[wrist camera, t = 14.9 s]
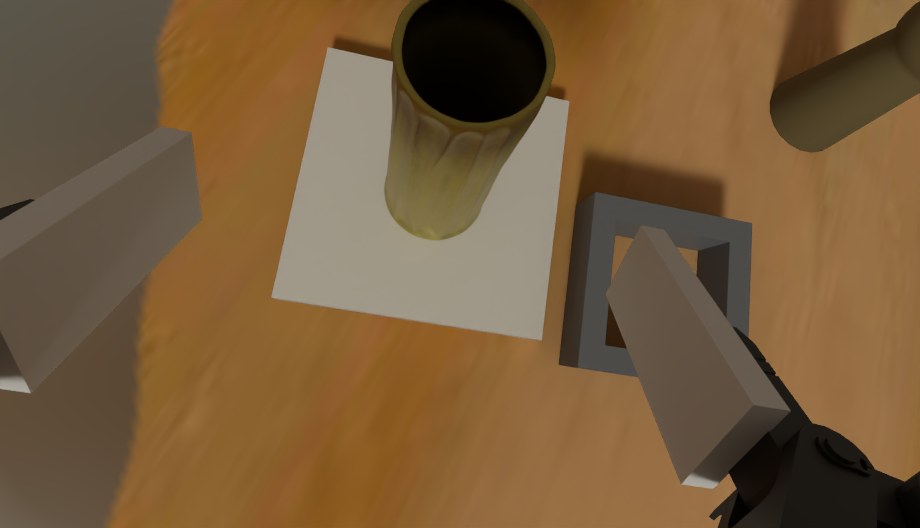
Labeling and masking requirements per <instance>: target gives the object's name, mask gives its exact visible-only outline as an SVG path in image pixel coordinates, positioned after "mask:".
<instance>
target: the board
mask: <svg viewBox="0 0 920 528" xmlns="http://www.w3.org/2000/svg"><path fill="white" fill-rule="evenodd" d="M392 70H393V62H392V61H387V60H383V59H378V58H374V57H369V56H365V55H361V54H356V53H352V52H347V51H343V50H338V49H334V48H329V47H328V49H327V54H326V58H325V63H324V67H323V71H322V76H321V80H320V85H319V89H318V94H317V98H316V102H315V107H314V111H313V116H312V120H311V125H310V129H309V133H308V138H307V142H306V147H305V151H304V156H303V160H302V164H301V169H300V173H299V178H298V182H297V187H296V191H295V195H294V200H293V204H292V209H291V213H290V218H289V222H288V226H287V231H286V235H285V240H284V244H283V249H282V253H281V257H280V262H279V266H278V271H277V275H276V280H275V284H274V288H273V293H272V297H271V298H274V299H278V300H284V301H290V302H297V303H303V304H309V305H316V306H322V307H328V308H335V309H341V310H347V311H354V312H360V313H366V314H373V315H379V316H386V317H392V318H398V319H405V320H411V321H417V322H424V323H430V324H436V325H443V326H449V327H455V328H462V329H468V330H474V331H481V332H487V333H493V334H500V335H506V336H513V337H519V338H525V339H532V340H542V334H543V325H544V316H545V308H546V299H547V290H548V282H549V273H550V264H551V256H552V247H553V238H554V230H555V221H556V212H557V204H558V195H559V186H560V178H561V169H562V160H563V152H564V143H565V134H566V125H567V117H568V108H569V101H566V100H561V99H557V98H553V97H548V96H546V98H545V100H544V102H543V104H542V106H541V109H540V111H539V113H538V115H537V116H536V118H535V119H534V121H533V122H532V124H531V125H530V127H529V129H528V130H527V132H526V133H525V135H524V136H523V137H522V139H521V140H520V142H519V143H518V145H517V146H516V148H515V149H514V151H513V152H512V154H511V155H510V157H509V158H508V160H507V161H506V163H505V164H504V165H503V167H502V168H501V170H500V172H499V174H498V176H497V178H496V180H495V182H494V184H493V186H492V188H491V190H490V192H489V194H488V196H487V198H486V200H485V202H484V203H483V205H482V208H481V211H480V213H479V216H478V218H477V219H476V220H475V222H474V223H473V224H472V225H471V226H470V227H469V228H468V229H467V230H466V231H464V232H463V233H461V234H459V235H457V236H454V237H451V238H448V239H444V240H427V239H423V238H419V237H417V236H414V235H412V234H410V233H408V232H407V231H406V230H404V229H403V228H402V227H401V226H399V224H398V223H397V222H396V221H395V220H394V219H393V217H392V216H391V214H390V212H389V210H388V208H387V205H386V201H385V195H384V184H385V180H386V176H387V168H388V156H389V148H390V136H391V122H392V90H391V80H392Z"/></svg>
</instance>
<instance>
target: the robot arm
mask: <svg viewBox="0 0 920 528" xmlns="http://www.w3.org/2000/svg"><path fill="white" fill-rule="evenodd" d="M201 220H202V215H201V206H200V198H199V190H198V182H197V174H196V166H195V158H194V149H193V141H192V133H191V132H186V131H182V130H177V129H172V128H167V127H160V128H158V129H157V130H155V131H153V132H152V133H150V134H148V135H146V136H145V137H143V138H141V139H140V140H138V141H136V142H135V143H133V144H131V145H129V146H128V147H126V148H124V149H123V150H121V151H119V152H117V153H115V154H114V155H112V156H110V157H109V158H107V159H105V160H104V161H102V162H100V163H98V164H96V165H95V166H93V167H92V168H90V169H88V170H86V171H84V172H83V173H81V174H79V175H78V176H76V177H74V178H72V179H71V180H69V181H67V182H65V183H64V184H62V185H60V186H59V187H57V188H55V189H54V190H52V191H50V192H48V193H47V194H45V195H43V196H41V197H40V198H38V199H36V200H32V199H30V200H26V201H23V202H19V203H16V204H13V205H10V206H6V207H3V208H0V389H6V390H13V391H20V392H27V393H32V391H34V390H35V389H36V387H37V386H38V385H39V384H40V383H41V382H42V381H43V380H44V379H45V378H46V377H47V376H48V375H49V374H50V373H51V372H52V371H53V370H54V369H55V368H56V367H57V366H58V365H59V364H60V363H61V362H62V361H63V360H64V359H65V358H66V357H67V356H68V355H69V354H70V353H71V352H72V351H73V350H74V349H75V348H76V347H77V346H78V344H80V343H81V341H83V340H84V339H85V338H86V337H87V336H88V335H89V334H90V333H91V332H92V331H93V330H94V329H95V328H96V326H97V325H98V324H99V323H100V322H101V321H102V320H103V319H104V318H105V317H106V316H107V315H108V314H109V313H110V312H111V311H112V310H113V309H114V308H115V307H116V306H117V305H118V304H119V303H120V302H121V301H122V300H123V299H124V298H125V297H126V296H127V295H128V294H129V293H130V292H131V291H132V290H133V289H134V288H135V287H136V286H137V285H138V284H139V283H140V282H141V281H142V280H143V279H144V278H145V277H146V276H147V275H148V274H149V273H150V272H151V271H152V270H153V269H154V268H155V266H156V265H157V264H158V263H159V262H160V261H161V260H162V259H163V258H164V257H165V256H166V255H167V254H168V253H169V252H170V251H171V250H172V249H173V248H174V247H175V246H176V245H177V244H178V243H179V242H180V241H181V240H182V239H183V238H184V237H185V236H186V235H187V234H188V233H189V232H190V231H191V230H192V229H193V228H194V227H195V226H196V225H197V224H198V223H199V222H200V221H201ZM606 297H607V299H608V302H609V304H610V307H611V309H612V312H613V314H614V317H615V319H616V322H617V324H618V327H619V329H620V332H621V334H622V337H623V340H624V342H625V345H626V347H627V350H628V352H629V355H630V357H631V360H632V362H633V365H634V367H635V370H636V372H637V375H638V377H639V380H640V382H641V385H642V387H643V390H644V392H645V395H646V397H647V400H648V402H649V405H650V407H651V410H652V412H653V415H654V417H655V420H656V422H657V425H658V427H659V430H660V433H661V435H662V438H663V440H664V443H665V445H666V448H667V450H668V453H669V455H670V458H671V460H672V463H673V465H674V468H675V470H676V473H677V475H678V478H679V480H680V483H681V484H683V485H690V486H697V487H704V488H711V489H714V488H715V487H716V486H717V485H718V484H719V483H720V482H721V481H722V480H723V479H724V478H725V477H726V476H727V475H728V474H730V476H731V478H732V480H733V482H734V484H735V486H736V488H737V489H736V490H735V491H734V492H733V493H732V494H731V495H730V496H729V497H728V498H727V499H726V500H725V501H723V502H722V503H721V504H720V505H719V506H718V507H717V508H716V509H715V510H714V511H713V512H712V513H711V515H710V516H709V517H710V518H711V519H713V520H715V519H716V518H717V517H718V516H719V515H722V517H721V520H720V523H719V525H718V528H920V472H918V473H917V474H915V475H914V476H912V477H911V478H910V479H908V480H907V481H905V482H904V481H901V480H899V479H897V478H894V477H892V476H889V475H887V474H885V473H882V472H880V471H877V470H875V469H874V467H873V466H872V464H871V463H870V461H869V460H868V458H867V457H866V455H864V454H863V453H862V452H861V451H860V450H859V449H858V448H857V447H856V446H855V445H854V444H853V443H852V442H850V441H849V440H848V439H846V438H845V437H844V436H842V435H841V434H839V433H837V432H835V431H833V430H831V429H829V428H827V427H825V426H821V425H817V424H812V422H811V421H810V419H809V418H808V417H807V415H806V414H805V413H804V411H803V410H802V408H801V407H800V406H799V404H798V403H797V402H796V400H795V399H794V397H793V396H792V395H791V393H790V392H789V390H788V389H787V388H786V386H785V385H784V384H783V382H782V381H781V379H780V378H779V377H778V376H775V374H776V373H775V371H774V370H773V368H772V367H771V366H770V364H769V363H767V362H766V359H765V357H764V356H763V355H762V353H761V352H760V351H759V349H758V348H757V346H756V345H755V344H754V343H753V342H752V341H751V340H750V339H749V338H748V337H747V336H746V335H744V334H743V333H742V332H741V331H740V330H739V329H738V328H737V327H732V326H731V325H730V323H729V322H728V320H727V319H726V317H725V316H724V315H723V313H722V312H721V310H720V309H719V307H718V306H717V304H716V303H715V302H714V300H713V299H712V297H711V296H710V294H709V293H708V292H707V290H706V289H705V287H704V286H703V284H702V283H701V282H700V280H699V279H698V277H697V276H696V274H695V273H694V272H693V270H692V269H691V267H690V266H689V264H688V263H687V262H686V260H685V259H684V257H683V256H682V254H681V253H680V252H679V250H678V249H677V247H676V246H675V244H674V243H673V241H672V240H671V239H670V237H669V236H668V234H667V233H666V231H665V230H663V229H658V228H653V227H648V226H643V225H641V226H640V228H639V230H638V232H637V234H636V236H635V238H634V240H633V242H632V243H631V245H630V247H629V249H628V251H627V253H626V255H625V257H624V259H623V261H622V263H621V265H620V267H619V269H618V271H617V273H616V275H615V277H614V279H613V281H612V283H611V284H610V286H609V288H608V290H607V292H606Z"/></svg>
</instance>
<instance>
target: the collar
mask: <svg viewBox="0 0 920 528" xmlns="http://www.w3.org/2000/svg"><path fill="white" fill-rule="evenodd" d="M641 225H643V226H648V227H653V228H658V229H663V230H665V231H666V233H667V234H668V236H669V237H670V239H671V240H672V241H673V243H674V244H675V246H676V247H681V248H687V249H692V250H697V251H698V268H697V277H698V279H699V280H700V282H701V283H702V284H703V286H704V287H705V289H706V290H707V292H708V293H709V294H710V296H711V297H712V299H713V300H714V302H715V303H716V304H717V306H718V307H719V309H720V310H721V312H722V313H723V315H724V316H725V317H726V319H727V320H728V322H729V323H730V325H731V326H732V327H737V328H738V329H739V330H740V331H741V332H742V333H743V334H744V335H746V336H747V337H748V333H749V303H750V274H751V244H752V223H748V222H743V221H738V220H733V219H728V218H723V217H718V216H713V215H708V214H703V213H698V212H693V211H688V210H683V209H678V208H673V207H668V206H663V205H658V204H654V203H649V202H644V201H639V200H634V199H629V198H624V197H619V196H614V195H609V194H604V193H599V192H595V193H593V194H592V195H590V196H589V197H588V198H586V199H585V200H583V201H582V202H581V203H579V204H578V205H576V211H575V220H574V230H573V239H572V248H571V258H570V267H569V276H568V286H567V295H566V304H565V313H564V323H563V332H562V341H561V351H560V360H559V365H563V366H570V367H576V368H582V369H589V370H595V371H602V372H609V373H615V374H622V375H628V376H635V377H638V375H637V372H636V370H635V367H634V365H633V362H632V360H631V357H630V355H629V352H628V350H627V349H625V348H619V347H613V346H606V345H605V340H606V329H607V318H608V307H609V302H608V299H607V297H606V292H607V290H608V288H609V286H610V284H611V274H612V263H613V252H614V241H615V235H618V236H623V237H629V238H635V236H636V234H637V232H638V230H639V228H640V226H641Z"/></svg>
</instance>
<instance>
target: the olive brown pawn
mask: <svg viewBox="0 0 920 528" xmlns="http://www.w3.org/2000/svg"><path fill="white" fill-rule="evenodd" d="M918 93H920V1H919V2H918V3H916V4H915V5H914V6H913V7H912V8H911V9H910V10H909V11H907V12H906V13H905V14H904V16H903V17H902V18H901V19H900V21H899V22H898V24H897V26H896V28H894V29H892V30H889V31H887V32H885V33H883V34H881V35H879V36H877V37H875V38H873V39H871V40H869V41H867V42H865V43H863V44H861V45H859V46H857V47H855V48H853V49H850V50H848V51H846V52H844V53H842V54H840V55H838V56H836V57H834V58H832V59H830V60H828V61H826V62H824V63H822V64H820V65H818V66H816V67H814V68H811V69H809V70H807V71H805V72H803V73H801V74H799V75H797V76H795V77H793V78H791V79H789V80H787V81H785V82H783V83H781V84H780V85H779V86H778V87H777V88H776V89H775V91H774V92H773V95H772V98H771V101H770V114H771V117H772V121H773V124H774V126H775V128H776V129H777V131H778V133H779V134H780V136H781V137H782V138H783V139H784V140H785V141H786V142H787V143H789V144H790V145H792V146H793V147H795V148H797V149H799V150H802V151H807V152H818V151H823V150H824V149H826V148H828V147H830V146H831V145H833V144H835V143H836V142H838V141H840V140H841V139H843V138H845V137H846V136H848V135H850V134H851V133H853V132H855V131H856V130H858V129H860V128H861V127H863V126H865V125H866V124H868V123H870V122H871V121H873V120H875V119H876V118H878V117H880V116H881V115H883V114H885V113H886V112H888V111H890V110H892V109H893V108H895V107H897V106H898V105H900V104H902V103H903V102H905V101H907V100H908V99H910V98H912V97H913V96H915V95H917V94H918Z"/></svg>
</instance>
